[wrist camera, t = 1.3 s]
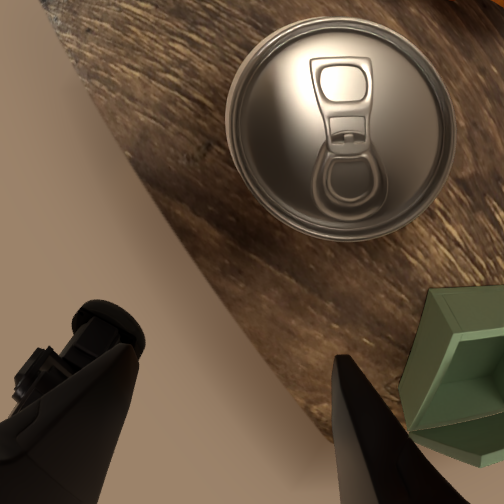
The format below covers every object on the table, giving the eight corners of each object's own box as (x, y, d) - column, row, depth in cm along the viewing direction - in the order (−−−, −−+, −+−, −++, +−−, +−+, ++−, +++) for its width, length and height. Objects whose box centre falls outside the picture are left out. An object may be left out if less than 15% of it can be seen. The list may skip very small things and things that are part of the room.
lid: (481, 455, 11) (479, 468, 10) (595, 406, 9) (595, 417, 9) (408, 431, 22) (408, 439, 22) (509, 410, 21) (508, 417, 20)
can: (266, 167, 19) (232, 265, 9) (252, 63, 16) (192, 16, 6) (371, 160, 18) (461, 250, 8) (362, 56, 15) (459, 11, 5)
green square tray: (428, 288, 22) (453, 333, 17) (532, 282, 20) (562, 317, 16) (397, 387, 27) (407, 431, 22) (491, 373, 26) (507, 410, 21)
